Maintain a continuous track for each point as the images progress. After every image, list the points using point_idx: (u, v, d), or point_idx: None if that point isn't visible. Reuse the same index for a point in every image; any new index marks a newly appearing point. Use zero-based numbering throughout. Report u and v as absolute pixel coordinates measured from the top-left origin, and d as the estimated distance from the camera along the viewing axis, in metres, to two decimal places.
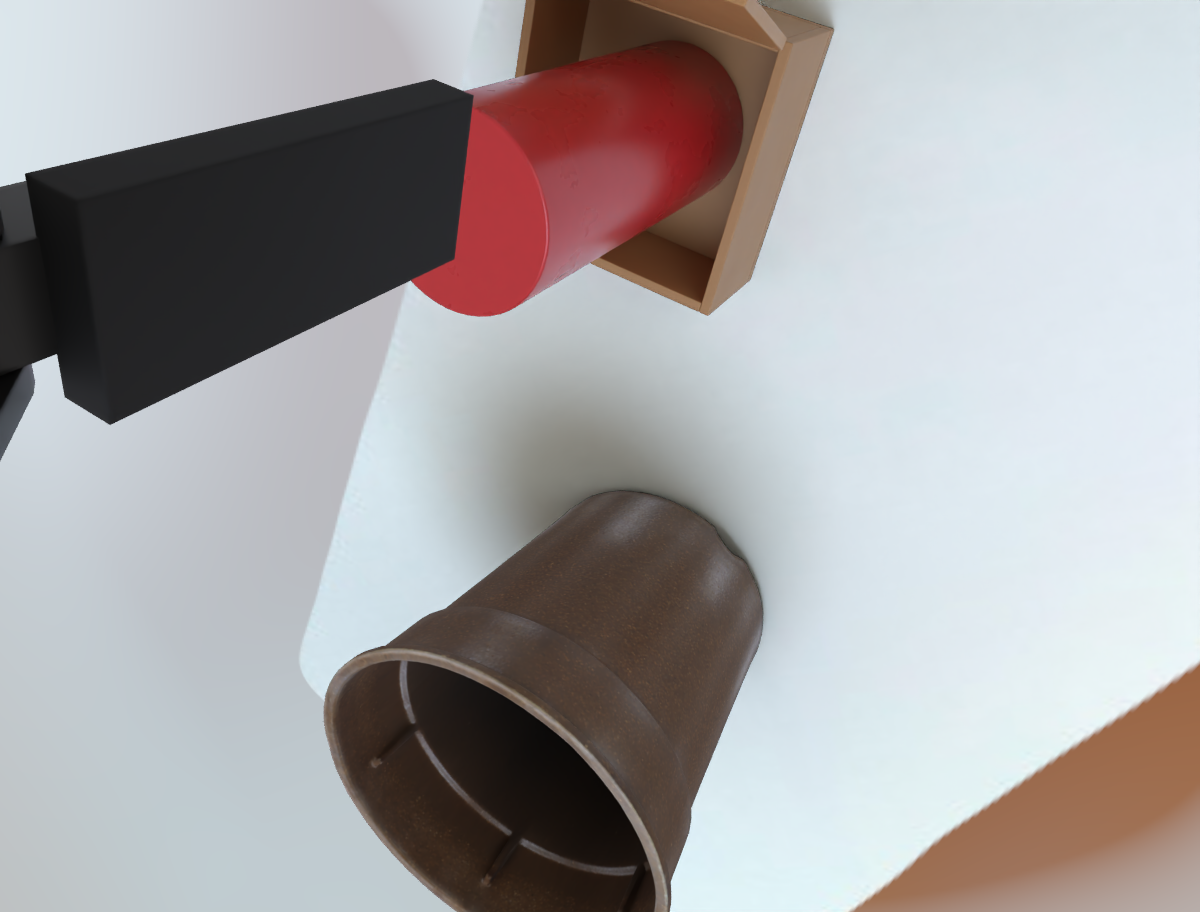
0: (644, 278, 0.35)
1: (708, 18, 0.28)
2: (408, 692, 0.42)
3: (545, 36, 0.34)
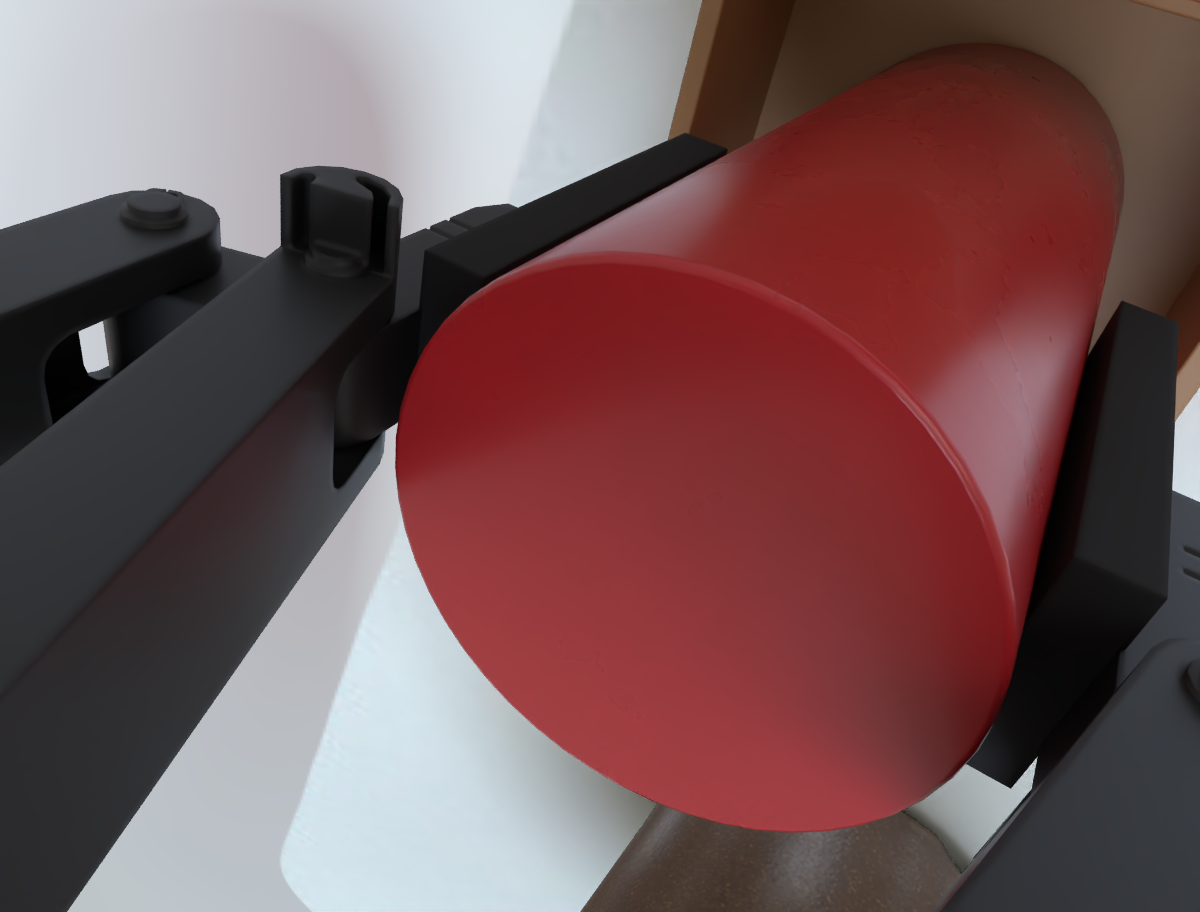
0: None
1: None
2: None
3: (736, 36, 0.17)
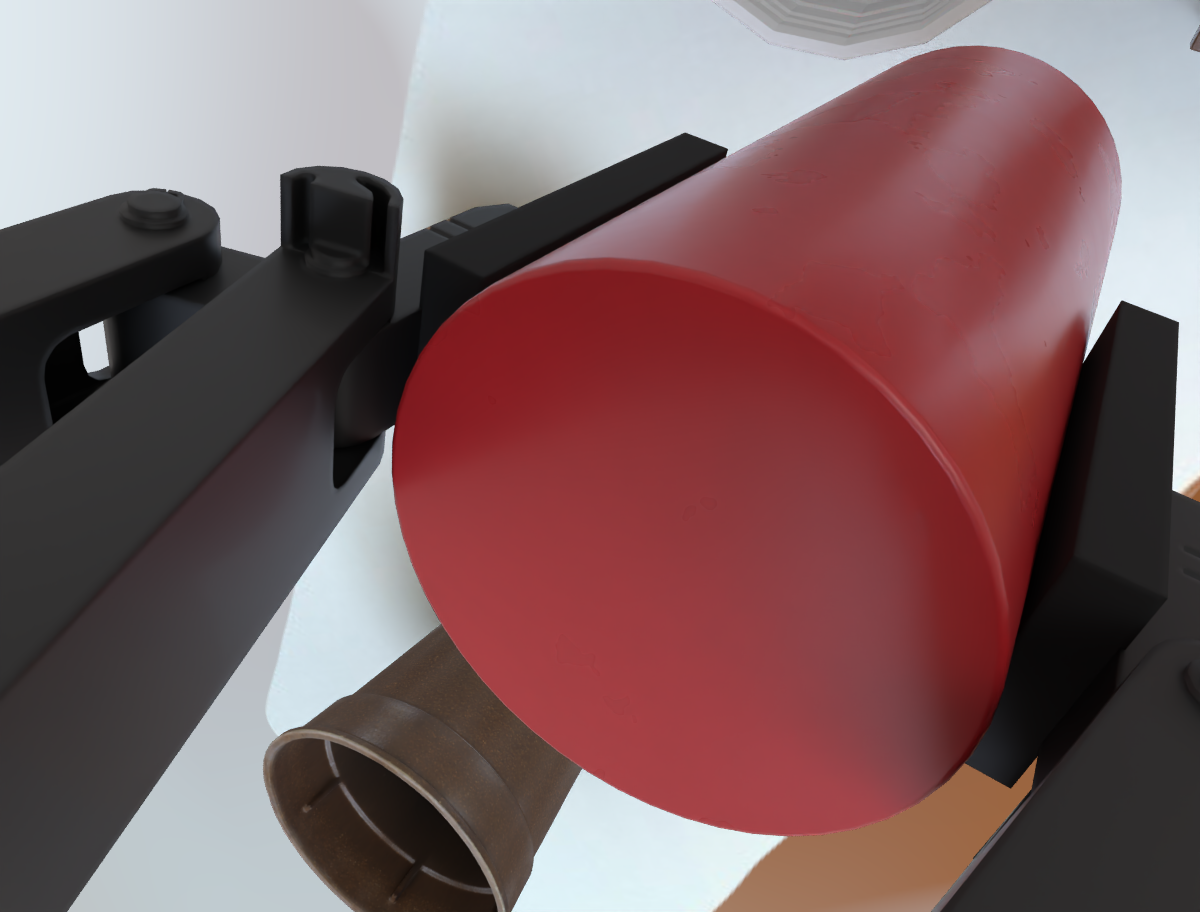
0: None
1: None
2: (332, 753, 0.55)
3: None
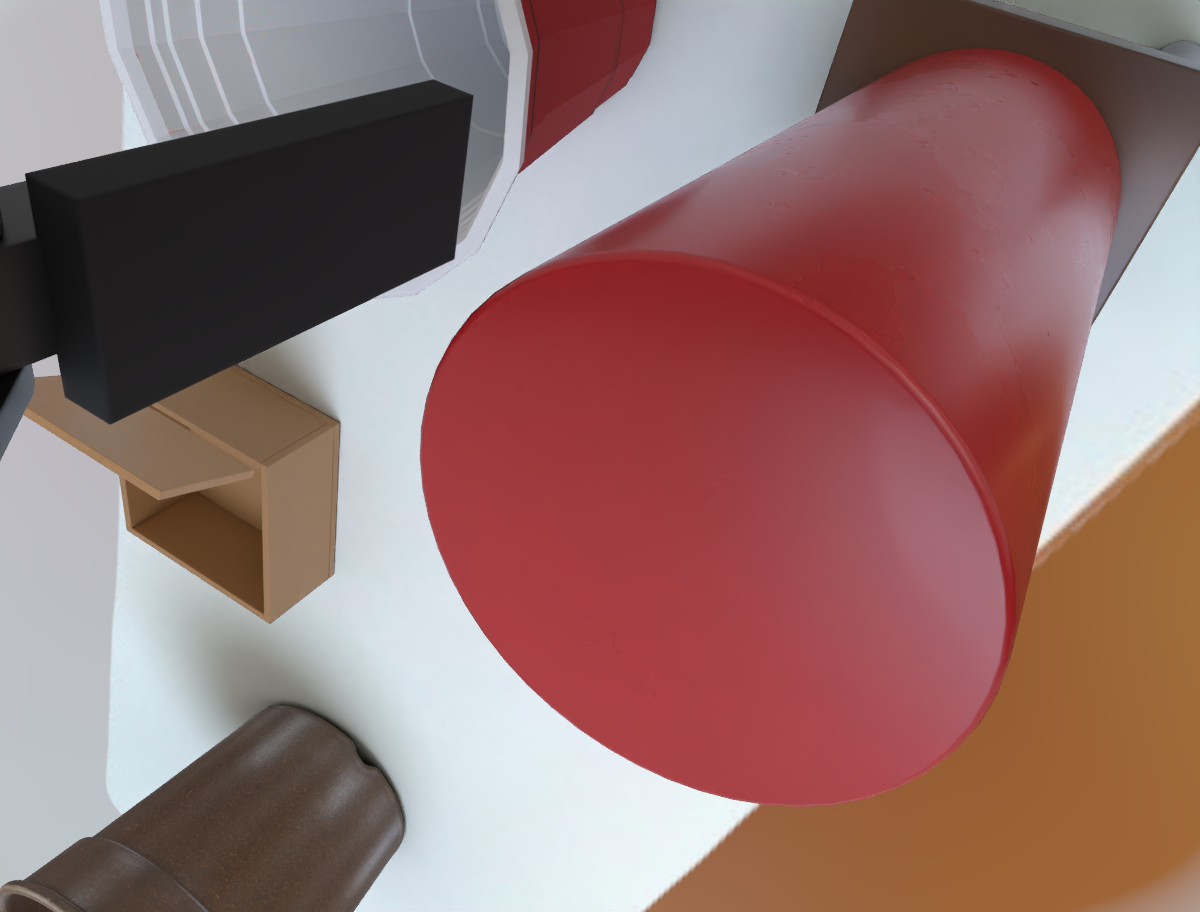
0: (227, 590, 0.45)
1: None
2: None
3: None
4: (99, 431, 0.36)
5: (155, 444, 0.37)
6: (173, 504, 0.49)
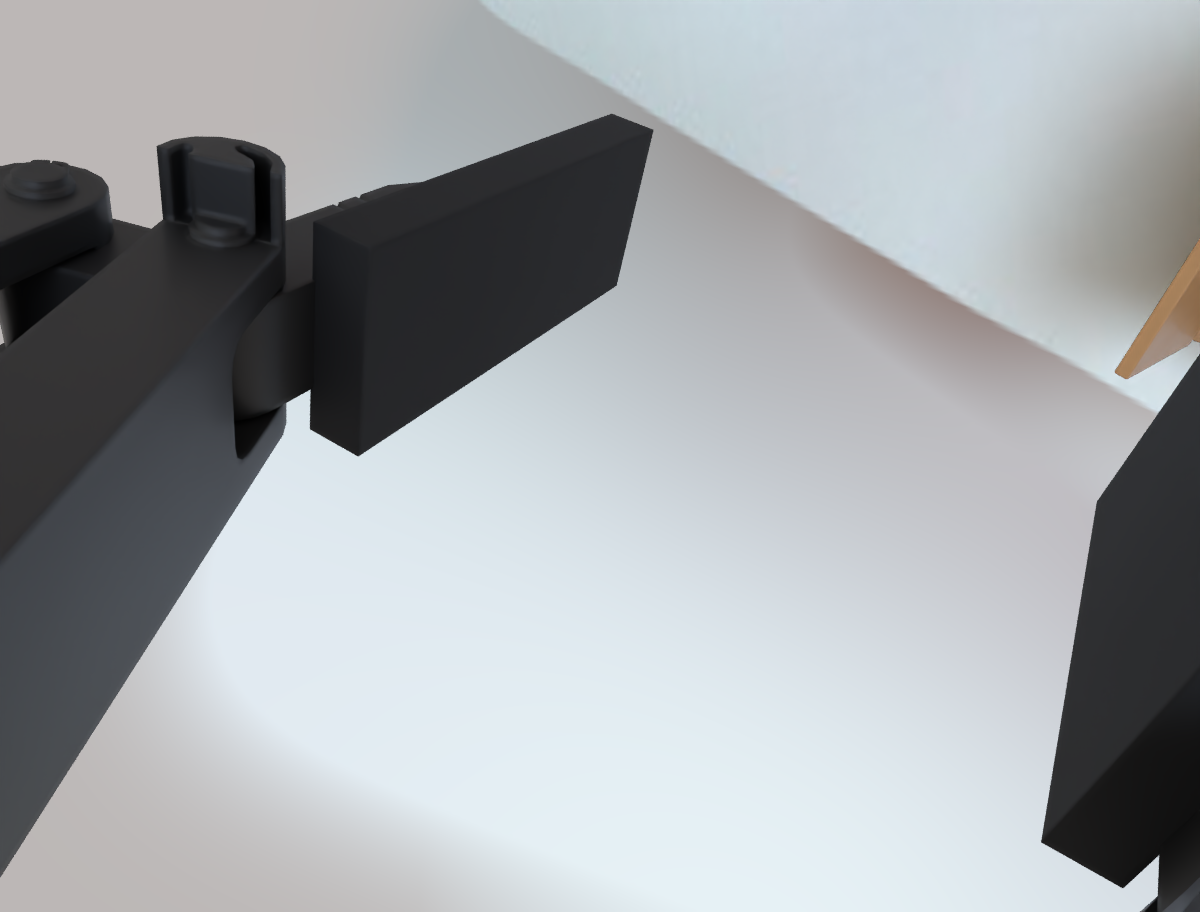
0: None
1: None
2: None
3: None
4: None
5: None
6: None
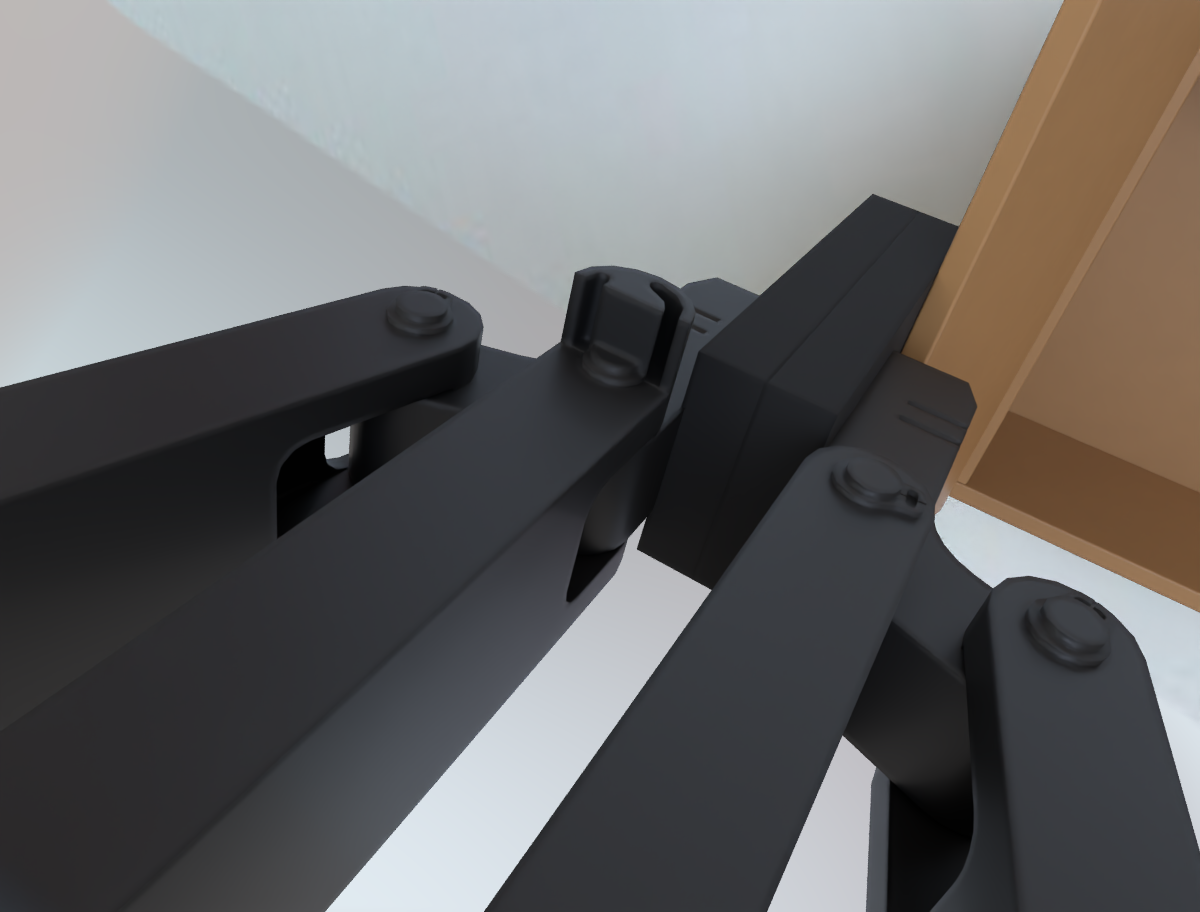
0: None
1: (1119, 148, 0.13)
2: None
3: (1083, 510, 0.19)
4: None
5: None
6: None
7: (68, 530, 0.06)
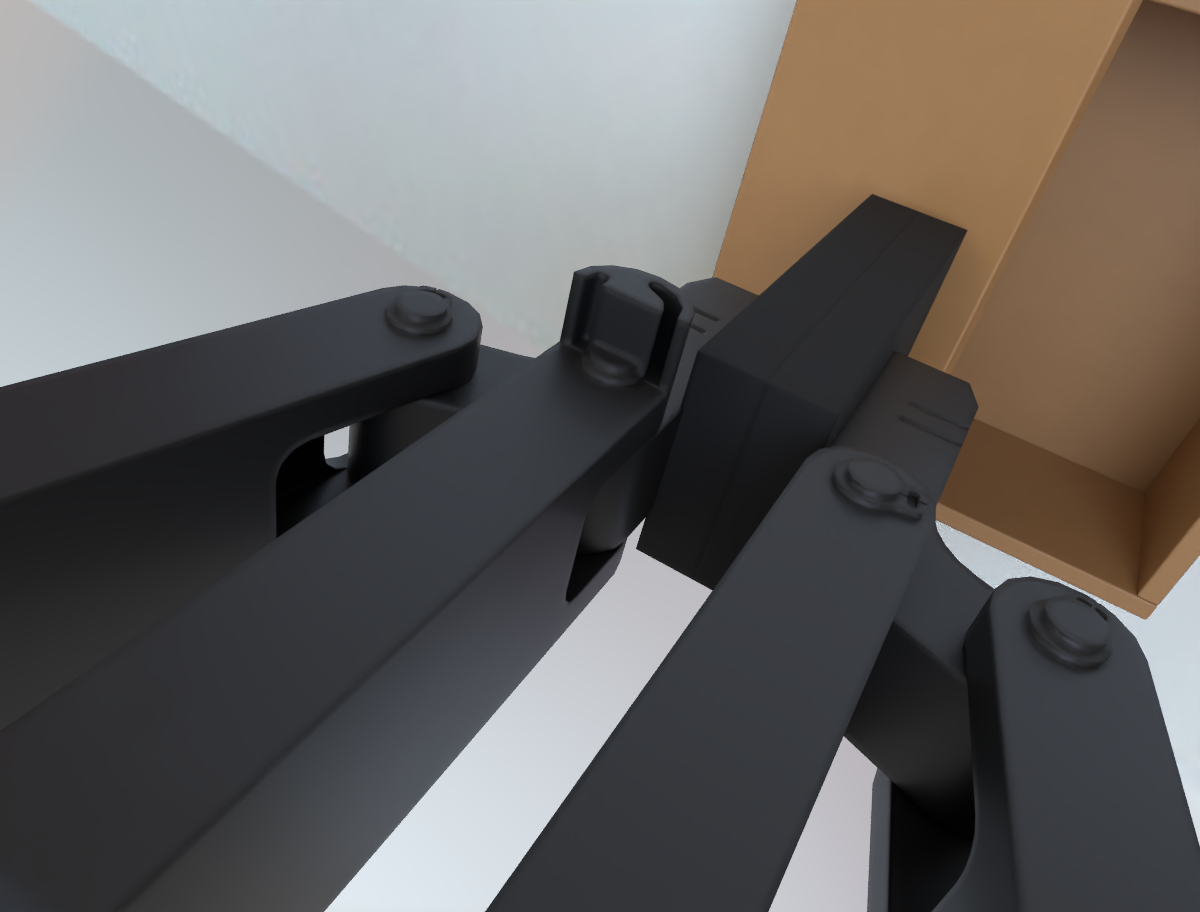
0: None
1: None
2: None
3: None
4: None
5: (880, 150, 0.14)
6: (1143, 524, 0.19)
7: (68, 530, 0.06)
